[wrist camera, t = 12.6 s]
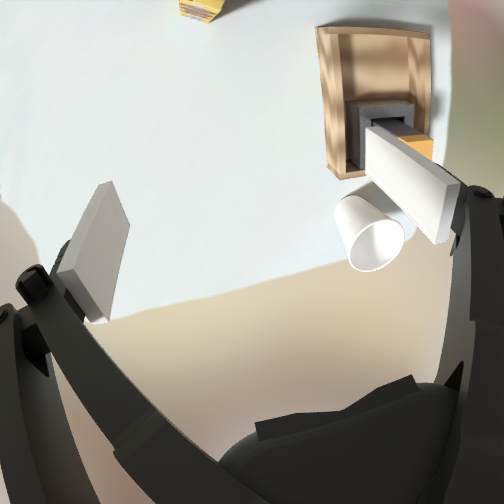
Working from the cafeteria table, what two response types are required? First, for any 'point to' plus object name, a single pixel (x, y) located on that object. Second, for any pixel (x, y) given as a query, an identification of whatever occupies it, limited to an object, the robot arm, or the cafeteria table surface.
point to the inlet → (361, 117)
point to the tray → (370, 80)
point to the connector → (406, 135)
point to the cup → (368, 234)
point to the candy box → (201, 9)
